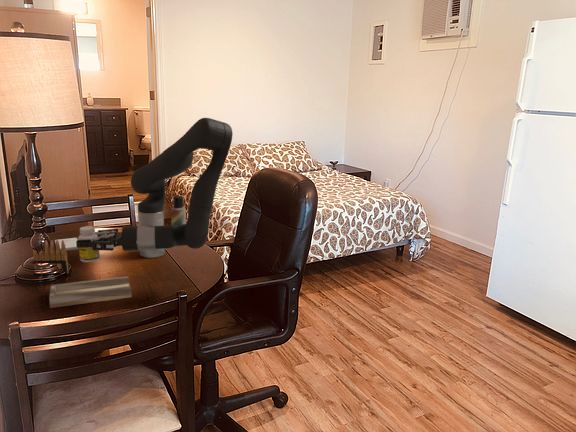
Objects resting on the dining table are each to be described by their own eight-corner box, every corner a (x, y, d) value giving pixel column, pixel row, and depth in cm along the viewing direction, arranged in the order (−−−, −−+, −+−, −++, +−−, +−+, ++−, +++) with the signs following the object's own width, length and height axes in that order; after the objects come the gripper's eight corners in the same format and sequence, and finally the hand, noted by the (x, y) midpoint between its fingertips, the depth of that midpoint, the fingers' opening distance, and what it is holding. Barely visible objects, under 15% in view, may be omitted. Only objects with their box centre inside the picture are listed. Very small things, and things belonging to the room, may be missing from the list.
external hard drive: (57, 253, 172) (54, 243, 183) (81, 250, 177) (77, 240, 187) (57, 249, 172) (54, 239, 182) (80, 246, 176) (76, 237, 186)
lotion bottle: (178, 240, 191) (177, 194, 186) (189, 242, 189) (188, 196, 183) (169, 243, 187) (167, 196, 181) (179, 246, 184) (178, 198, 179)
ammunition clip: (69, 272, 153) (66, 239, 150) (67, 274, 152) (64, 240, 148) (36, 273, 152) (32, 239, 149) (33, 275, 150) (29, 240, 147)
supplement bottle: (77, 259, 134) (74, 227, 132) (95, 255, 138) (92, 224, 135) (84, 264, 130) (81, 231, 128) (102, 259, 134) (100, 228, 132)
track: (52, 293, 137) (51, 284, 136) (128, 284, 146) (128, 275, 145) (50, 307, 128) (49, 298, 128) (131, 297, 137) (131, 288, 136)
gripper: (140, 219, 142) (82, 221, 138) (137, 233, 128) (72, 235, 124) (141, 242, 144) (84, 244, 140) (138, 258, 130) (74, 261, 126)
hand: (78, 240), depth 132 cm, fingers closed on supplement bottle, 5 cm apart
